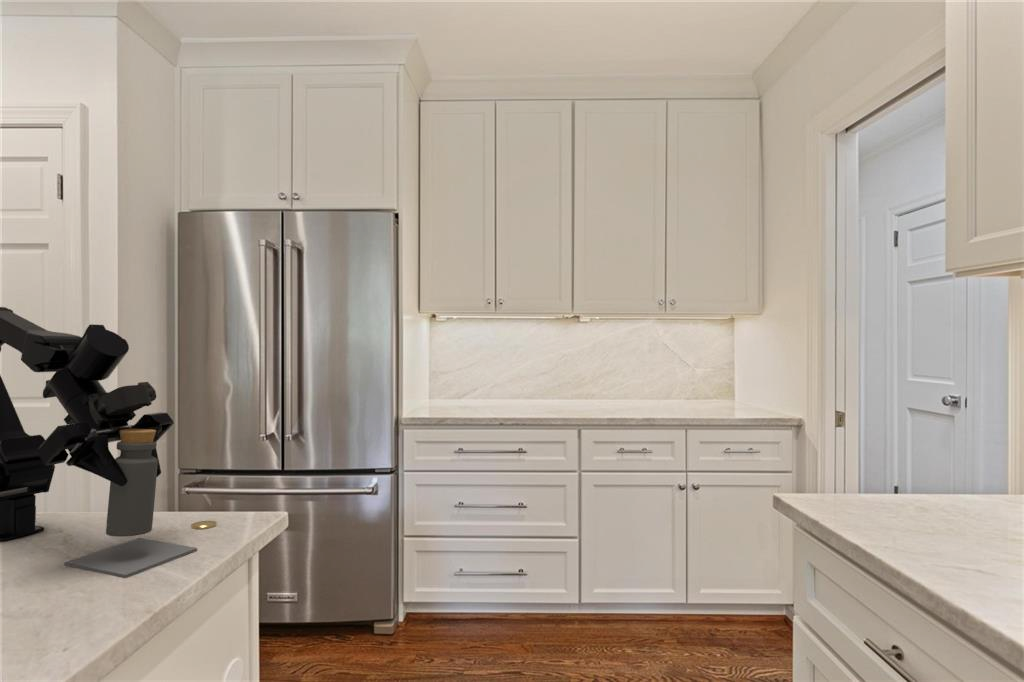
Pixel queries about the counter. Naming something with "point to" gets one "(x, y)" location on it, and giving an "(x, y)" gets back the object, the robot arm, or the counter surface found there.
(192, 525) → the brass token
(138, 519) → the bottle
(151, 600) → the counter surface
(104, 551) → the slate mat
